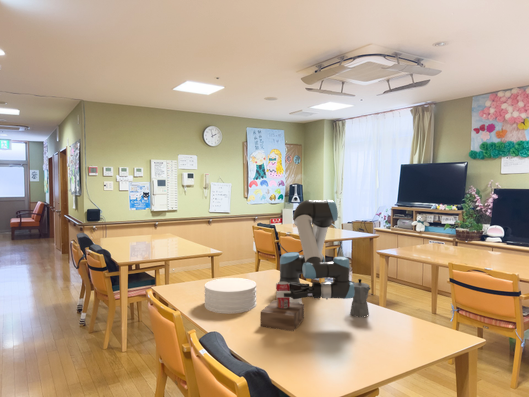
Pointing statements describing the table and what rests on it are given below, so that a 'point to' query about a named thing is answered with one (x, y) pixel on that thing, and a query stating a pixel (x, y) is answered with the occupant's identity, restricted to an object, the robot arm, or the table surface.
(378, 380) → the table surface
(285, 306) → the beverage can
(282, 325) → the walnut block
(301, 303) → the mug
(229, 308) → the plate stack
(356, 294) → the coffeepot
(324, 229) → the robot arm
